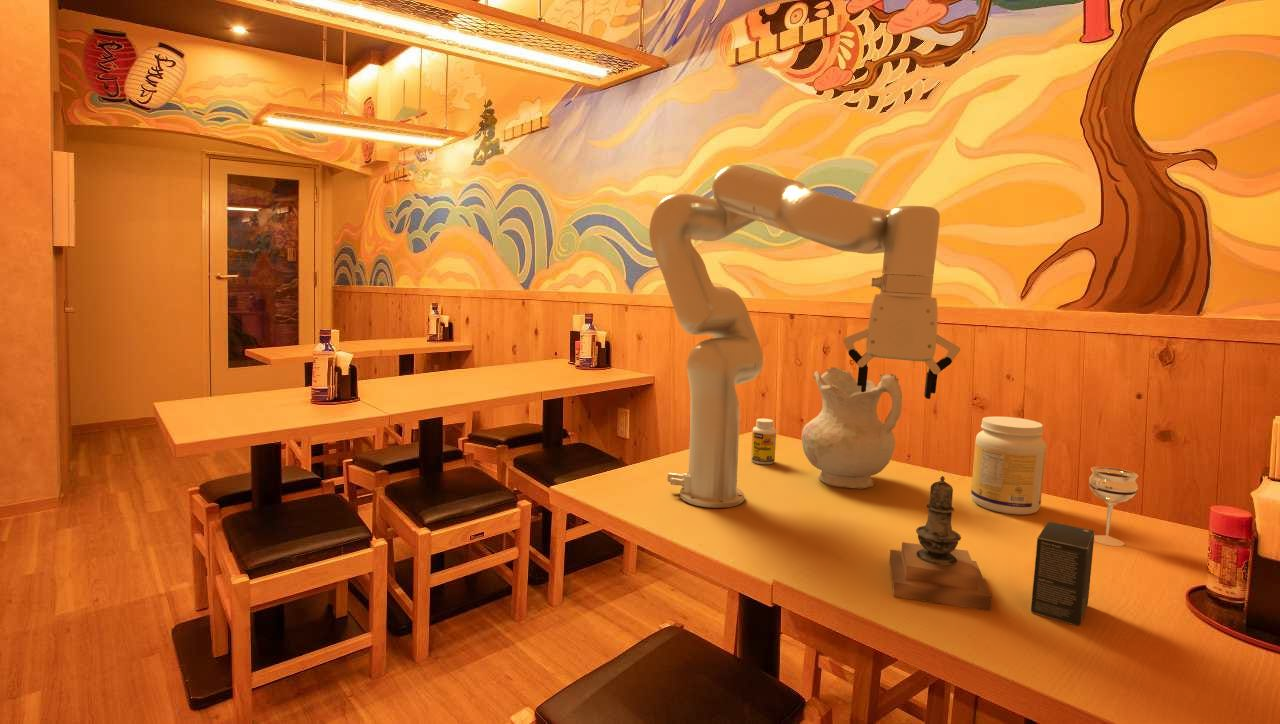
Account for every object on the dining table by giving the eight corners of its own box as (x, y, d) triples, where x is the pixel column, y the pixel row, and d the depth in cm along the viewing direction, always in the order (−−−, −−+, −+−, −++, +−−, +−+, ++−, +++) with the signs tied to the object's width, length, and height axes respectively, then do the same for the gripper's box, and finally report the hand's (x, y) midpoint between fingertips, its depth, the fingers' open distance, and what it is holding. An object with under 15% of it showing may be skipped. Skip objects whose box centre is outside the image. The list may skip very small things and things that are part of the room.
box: (1040, 592, 94) (1047, 520, 93) (1088, 605, 90) (1096, 530, 89) (1029, 612, 88) (1036, 535, 87) (1079, 627, 84) (1088, 547, 83)
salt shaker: (964, 568, 92) (971, 483, 90) (918, 563, 93) (924, 480, 91) (953, 551, 98) (959, 471, 96) (910, 547, 99) (916, 468, 97)
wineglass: (1122, 536, 116) (1130, 469, 115) (1137, 550, 110) (1145, 480, 108) (1077, 530, 118) (1084, 465, 117) (1089, 544, 112) (1097, 475, 110)
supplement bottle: (748, 463, 157) (750, 421, 156) (753, 458, 163) (755, 416, 161) (772, 466, 156) (774, 423, 154) (776, 460, 161) (778, 419, 159)
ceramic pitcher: (915, 489, 144) (926, 374, 143) (880, 503, 130) (892, 375, 128) (822, 469, 158) (832, 365, 157) (782, 480, 144) (791, 365, 142)
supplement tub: (990, 492, 140) (997, 413, 138) (1052, 509, 130) (1060, 424, 128) (957, 502, 133) (964, 418, 131) (1020, 520, 123) (1028, 431, 121)
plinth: (893, 596, 92) (895, 568, 91) (889, 562, 103) (891, 537, 103) (990, 611, 88) (993, 582, 88) (974, 573, 99) (977, 548, 99)
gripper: (847, 284, 104) (837, 392, 106) (969, 290, 98) (956, 404, 101) (849, 283, 111) (840, 384, 113) (963, 289, 105) (951, 396, 108)
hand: (894, 394), depth 107 cm, fingers open, 9 cm apart
